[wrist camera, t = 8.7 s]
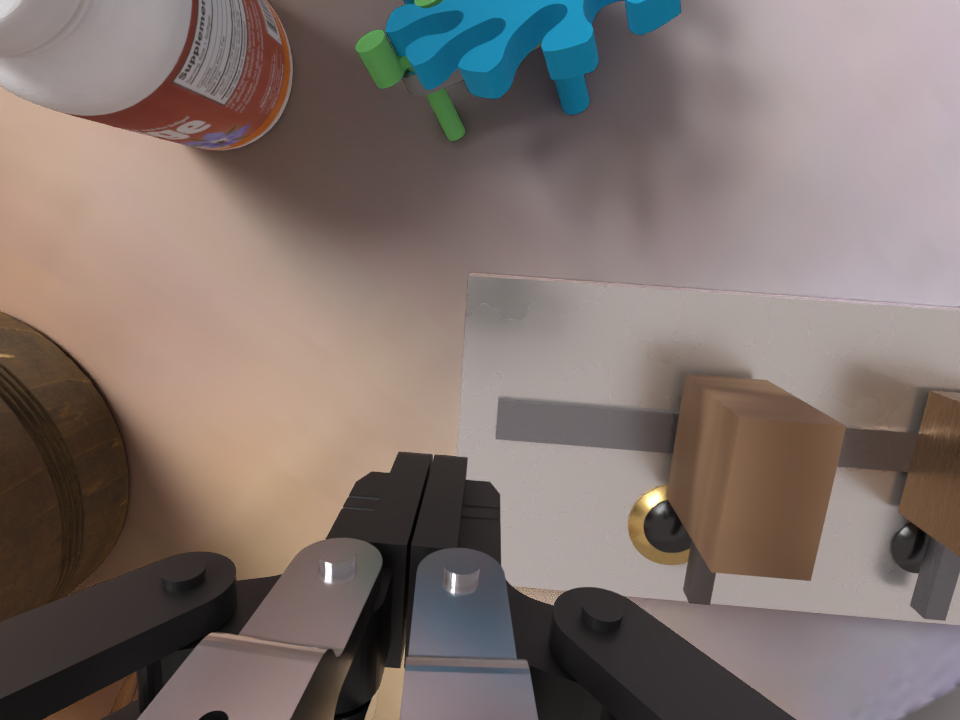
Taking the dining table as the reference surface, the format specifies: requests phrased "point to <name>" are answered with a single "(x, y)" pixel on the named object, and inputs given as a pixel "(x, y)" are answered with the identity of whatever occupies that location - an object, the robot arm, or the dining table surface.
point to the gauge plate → (653, 424)
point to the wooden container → (53, 472)
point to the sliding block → (750, 480)
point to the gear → (494, 47)
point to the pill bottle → (152, 65)
